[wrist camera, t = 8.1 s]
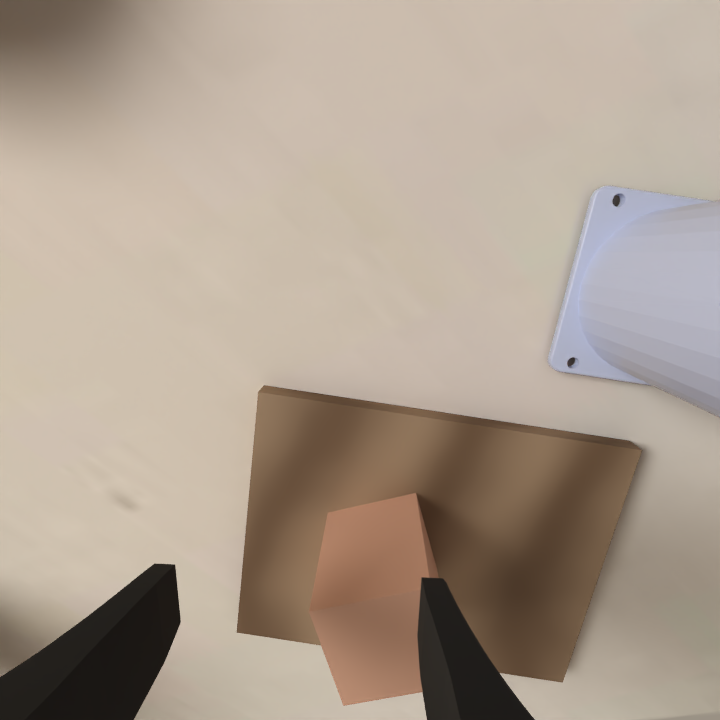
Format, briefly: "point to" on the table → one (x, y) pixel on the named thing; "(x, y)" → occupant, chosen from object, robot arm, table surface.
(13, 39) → the table surface
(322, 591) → the block
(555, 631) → the board
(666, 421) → the table surface
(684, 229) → the robot arm
